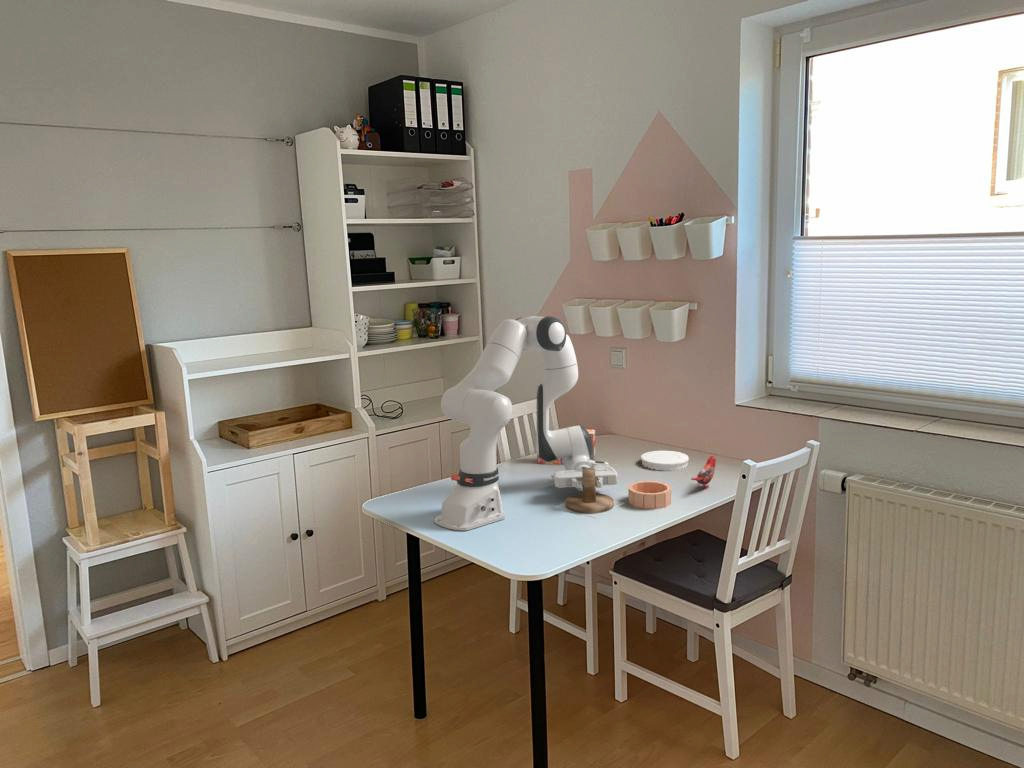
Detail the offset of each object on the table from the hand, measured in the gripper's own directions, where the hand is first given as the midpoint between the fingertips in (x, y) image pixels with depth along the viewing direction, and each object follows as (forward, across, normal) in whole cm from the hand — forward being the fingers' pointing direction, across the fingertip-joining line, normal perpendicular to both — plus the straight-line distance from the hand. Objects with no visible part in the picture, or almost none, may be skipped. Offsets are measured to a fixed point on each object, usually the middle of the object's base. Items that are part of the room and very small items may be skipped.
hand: (589, 485), depth 239 cm
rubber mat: (-1, 0, +7) cm, 7 cm away
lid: (-42, +35, +8) cm, 55 cm away
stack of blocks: (-50, 0, +7) cm, 51 cm away
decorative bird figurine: (-10, +39, +7) cm, 41 cm away
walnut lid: (-1, 0, +7) cm, 7 cm away
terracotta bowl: (-1, +19, +7) cm, 20 cm away
